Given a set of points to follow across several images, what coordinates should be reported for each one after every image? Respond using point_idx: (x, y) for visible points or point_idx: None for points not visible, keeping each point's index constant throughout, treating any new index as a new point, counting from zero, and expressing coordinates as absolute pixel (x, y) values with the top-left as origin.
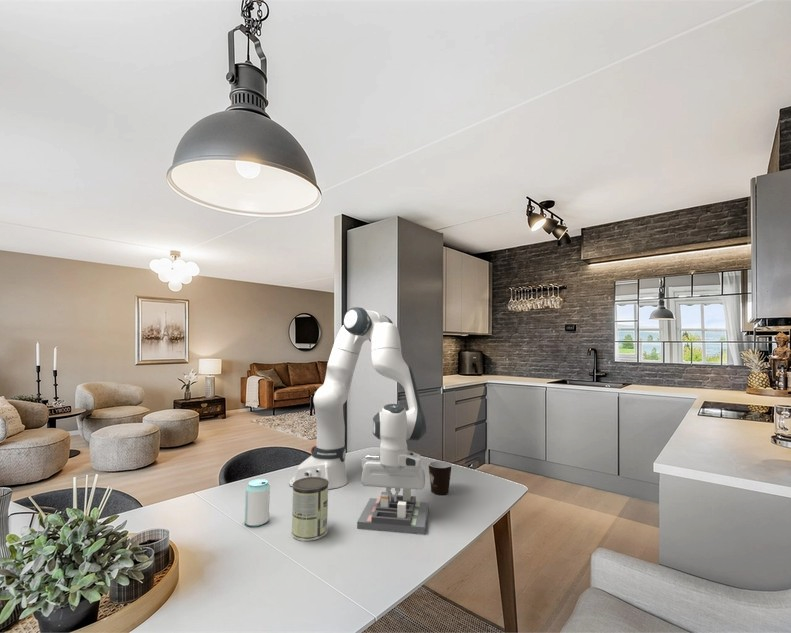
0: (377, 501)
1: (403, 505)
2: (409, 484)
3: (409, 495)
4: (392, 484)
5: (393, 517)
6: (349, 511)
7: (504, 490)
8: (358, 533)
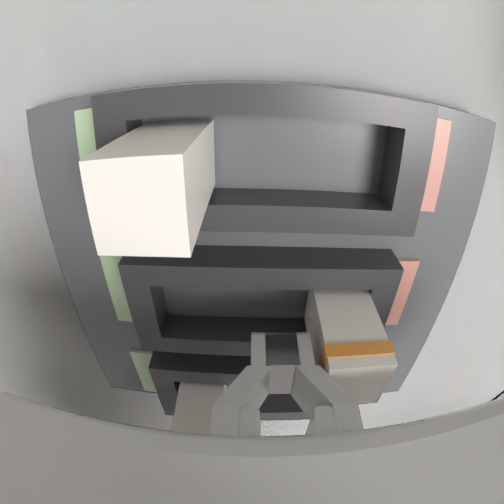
0: None
1: (102, 158)
2: (74, 457)
3: (179, 409)
4: (293, 470)
5: (256, 190)
6: (483, 294)
7: None
8: (458, 56)
